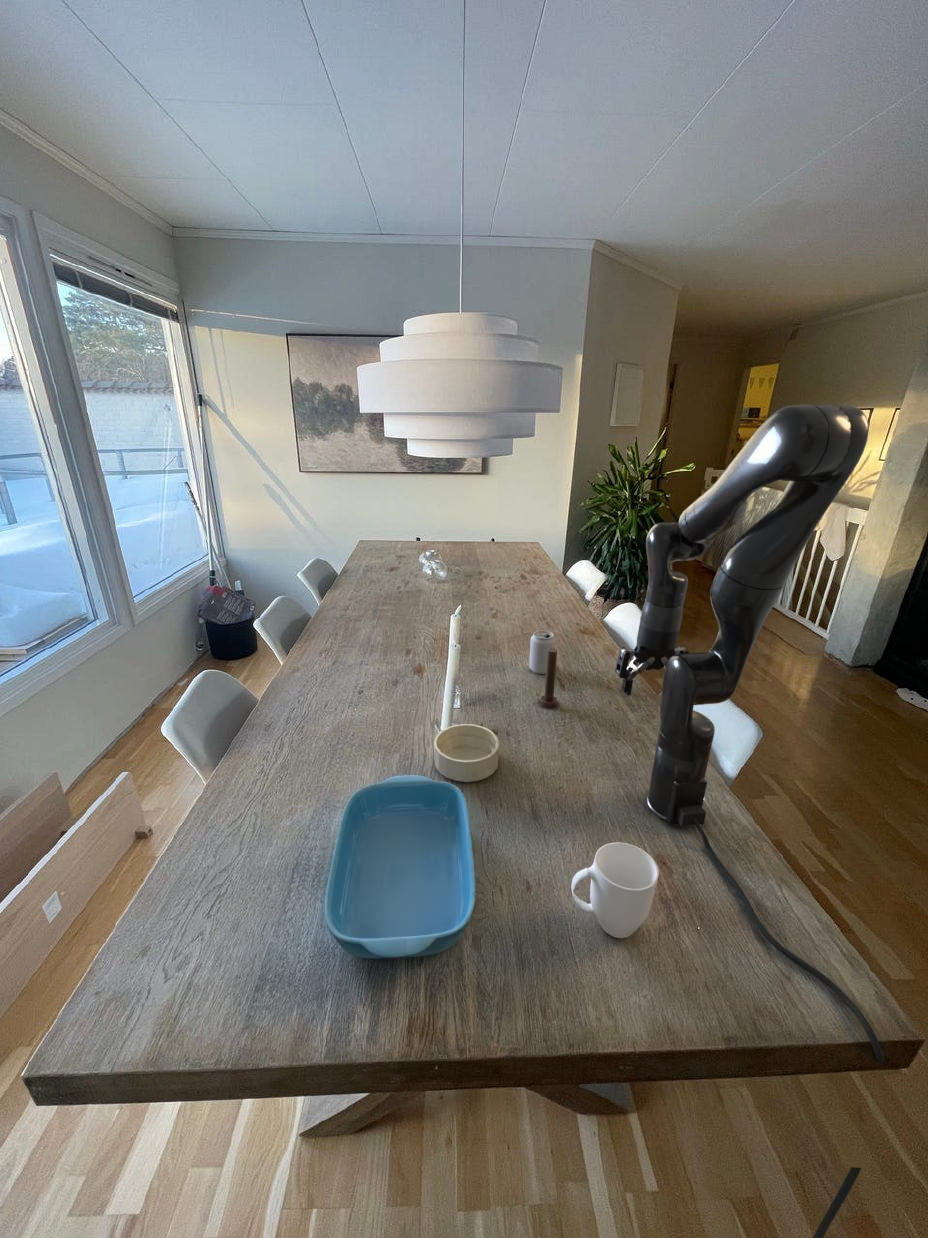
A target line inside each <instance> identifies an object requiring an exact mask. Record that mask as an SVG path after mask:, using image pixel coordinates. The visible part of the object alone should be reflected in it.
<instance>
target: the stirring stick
mask: <svg viewBox="0 0 928 1238" xmlns="http://www.w3.org/2000/svg"><path fill="white" fill-rule="evenodd" d="M557 659H558V649H557V648H555V649H554V648H550V649H548V656H547V670H546V674H545V685H544V695H542V696H541V697H540V700H539V701H540V706H541V707H543V708H546V709H554V708H556V707H557V706H558V698H557V697H556V696H555V686H556V672H557V662H558V661H557Z"/></svg>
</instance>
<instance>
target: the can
mask: <svg viewBox="0 0 928 1238" xmlns="http://www.w3.org/2000/svg"><path fill="white" fill-rule="evenodd" d="M556 644H557V639H556V637H555V634H554V633H553V632H552V631H549V630H536V631H534V632H533V633H532V635H531V637H530V646H529V662H528V668H529V669H530V670H531V671H532V672H533V673H535V674H538V675H546V670H547V656H548V649H550V648H554V649H556Z"/></svg>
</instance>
